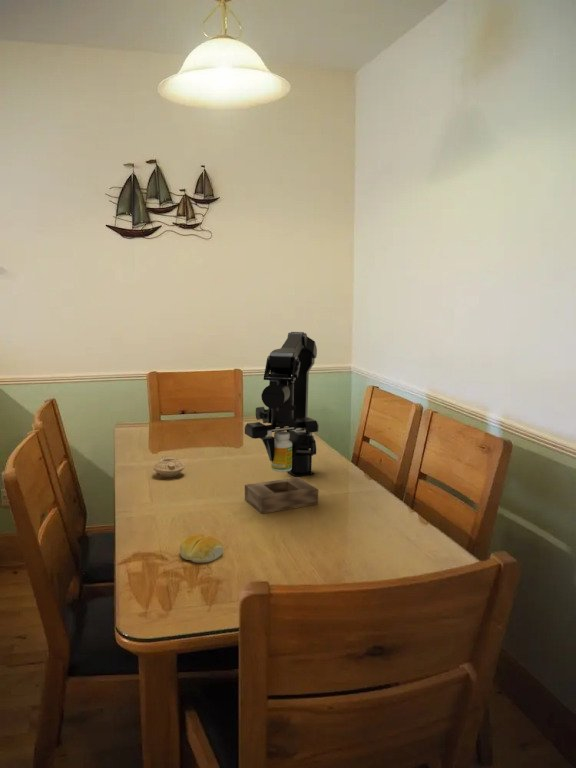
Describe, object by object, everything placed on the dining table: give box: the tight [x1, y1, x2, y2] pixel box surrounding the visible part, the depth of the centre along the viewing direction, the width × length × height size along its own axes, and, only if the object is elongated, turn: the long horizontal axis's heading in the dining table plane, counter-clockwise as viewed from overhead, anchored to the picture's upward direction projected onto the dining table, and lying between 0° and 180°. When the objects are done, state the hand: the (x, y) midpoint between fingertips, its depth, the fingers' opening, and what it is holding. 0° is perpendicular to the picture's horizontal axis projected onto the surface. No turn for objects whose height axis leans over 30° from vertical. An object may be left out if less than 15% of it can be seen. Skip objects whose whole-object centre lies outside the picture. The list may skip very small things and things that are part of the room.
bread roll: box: [179, 533, 224, 564], centre depth 126 cm, size 8×9×4 cm
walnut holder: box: [244, 476, 319, 514], centre depth 158 cm, size 16×11×4 cm
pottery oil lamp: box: [152, 455, 186, 478], centre depth 180 cm, size 9×12×7 cm
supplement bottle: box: [270, 431, 292, 473], centre depth 156 cm, size 5×5×10 cm
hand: (281, 459), depth 156 cm, fingers closed on supplement bottle, 5 cm apart
